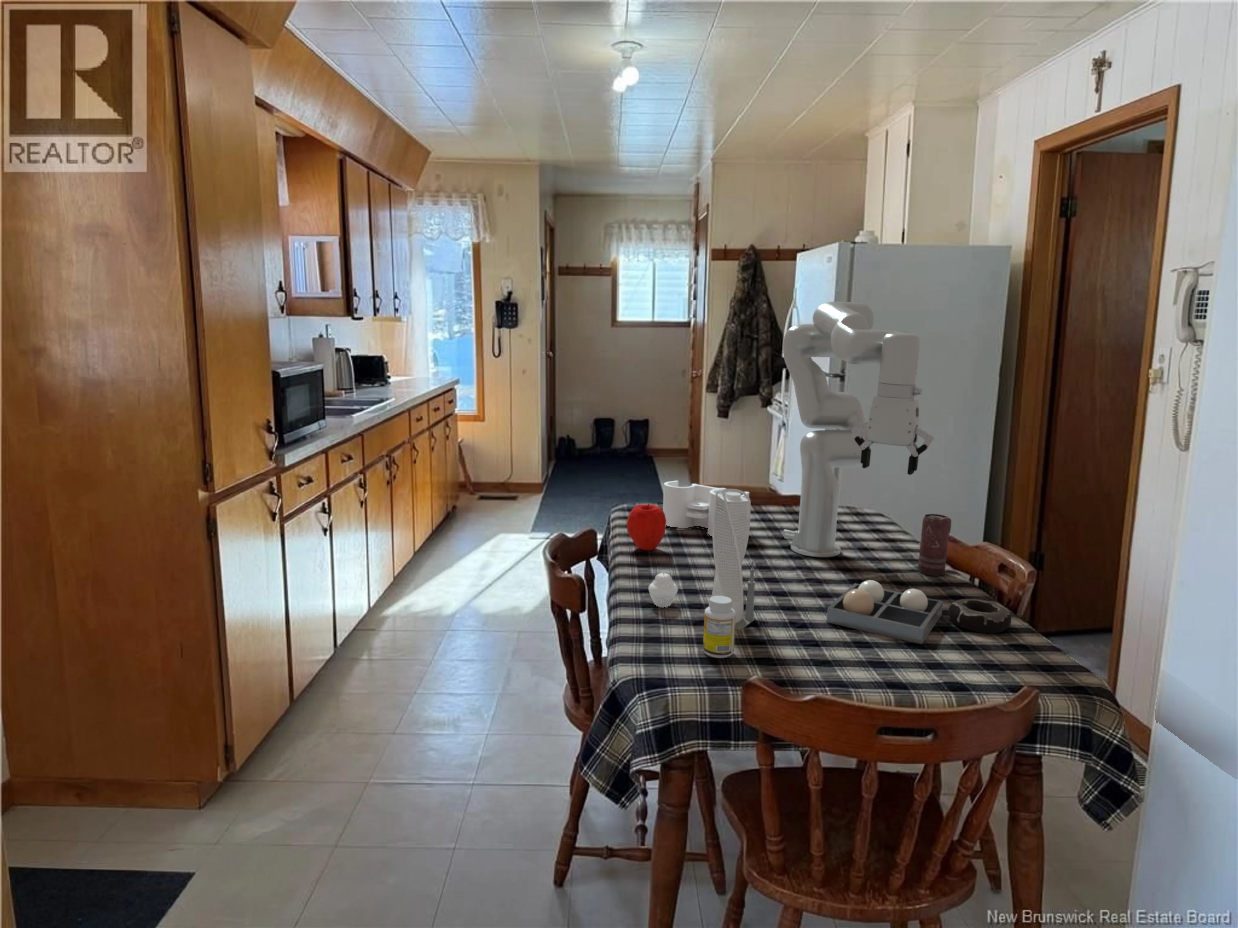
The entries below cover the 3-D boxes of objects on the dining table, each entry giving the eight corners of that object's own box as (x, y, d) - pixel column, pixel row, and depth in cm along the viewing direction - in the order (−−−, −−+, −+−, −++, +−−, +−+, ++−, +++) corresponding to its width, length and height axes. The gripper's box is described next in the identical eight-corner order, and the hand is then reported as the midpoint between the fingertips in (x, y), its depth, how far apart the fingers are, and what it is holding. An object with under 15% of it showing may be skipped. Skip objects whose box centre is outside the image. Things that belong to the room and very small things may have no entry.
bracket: (655, 526, 230) (656, 485, 228) (672, 519, 238) (674, 479, 236) (734, 542, 217) (737, 498, 214) (750, 534, 225) (752, 492, 222)
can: (947, 577, 192) (954, 520, 189) (919, 575, 193) (925, 518, 191) (943, 569, 198) (949, 514, 195) (915, 567, 199) (921, 512, 197)
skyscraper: (738, 633, 156) (746, 492, 151) (700, 624, 160) (707, 486, 155) (755, 620, 163) (763, 484, 158) (718, 611, 167) (725, 479, 162)
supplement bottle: (713, 643, 150) (716, 591, 148) (739, 652, 147) (742, 599, 145) (696, 652, 146) (699, 599, 144) (722, 662, 143) (725, 607, 141)
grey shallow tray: (826, 622, 162) (827, 607, 162) (853, 596, 178) (854, 583, 177) (921, 644, 153) (923, 629, 152) (941, 614, 168) (943, 601, 168)
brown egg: (847, 610, 168) (849, 582, 167) (876, 616, 165) (878, 588, 164) (838, 619, 163) (840, 590, 162) (868, 625, 160) (870, 596, 159)
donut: (938, 613, 170) (940, 594, 169) (995, 615, 169) (997, 597, 169) (959, 635, 158) (961, 615, 158) (1020, 637, 158) (1022, 618, 157)
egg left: (853, 606, 170) (855, 581, 169) (860, 598, 175) (862, 574, 174) (879, 611, 167) (881, 586, 166) (885, 604, 172) (888, 579, 171)
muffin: (657, 611, 165) (658, 579, 164) (642, 602, 171) (643, 570, 169) (682, 607, 168) (684, 575, 167) (667, 597, 174) (668, 566, 172)
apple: (620, 551, 205) (622, 505, 203) (634, 541, 214) (636, 497, 212) (657, 557, 202) (659, 509, 199) (670, 546, 211) (672, 501, 208)
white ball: (895, 615, 166) (898, 590, 165) (902, 607, 170) (904, 583, 169) (923, 621, 163) (925, 595, 162) (929, 613, 167) (931, 588, 166)
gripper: (942, 394, 170) (933, 473, 174) (860, 386, 180) (853, 462, 183) (934, 397, 164) (925, 479, 168) (850, 389, 173) (843, 467, 177)
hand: (887, 470), depth 175 cm, fingers open, 9 cm apart
